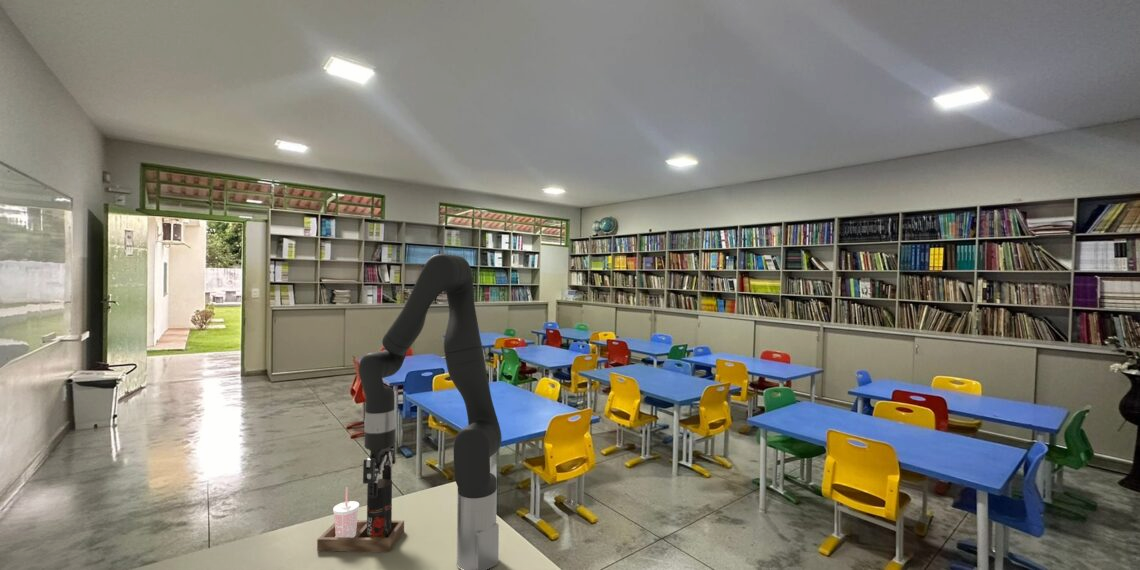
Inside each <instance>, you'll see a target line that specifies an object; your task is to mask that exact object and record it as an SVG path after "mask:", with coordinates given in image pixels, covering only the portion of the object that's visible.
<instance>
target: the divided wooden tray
mask: <svg viewBox="0 0 1140 570" xmlns="http://www.w3.org/2000/svg"><path fill="white" fill-rule="evenodd" d="M404 533H405V520H392V524H391V534H390V535H389V537H388V538H367V519H364V520H363V519H361V520H360V519H359V520H358V519H357V528H356V535H355V536H354V537H335V536H336V535H335V522H334V523H333V524H331V526H330V527H328V529H326V531H325V532H323V533H322V534H321V536H319V537H318V538H317V540H316V541H317V542H316V544H317V545H316V546H317V548H316V551H347V552H346V553H348V552H349V553H350V552H351V553H362V552H363V553H391V551H392V550H393V548H394V547H395V545H396V544H397V543H398V541H399V539H401V537H402V535H404Z"/></svg>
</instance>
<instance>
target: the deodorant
mask: <svg viewBox="0 0 1140 570" xmlns="http://www.w3.org/2000/svg"><path fill="white" fill-rule="evenodd" d="M366 488H367V489H366V490H367V491H366V492H367V493H366V508H367V509H366V520H367V538H388V537H389V535H390V534H391V524H392V521H393V519H392V518H393V517H392V516H393V510H392V509H393V507H392V506H393V505H392V504H393V503H392V502H393V501H392V500H393V482H392V481H391V480H389V479H382V478H380V479H378V496H377V497H376V498H369V497H368V484H367V487H366Z"/></svg>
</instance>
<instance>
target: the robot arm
mask: <svg viewBox="0 0 1140 570" xmlns="http://www.w3.org/2000/svg"><path fill="white" fill-rule="evenodd" d="M472 273H473V272H472V268H471V265H470V263H469V262H468V260H467V259H465V258H464V257H463V256H460V255H457V254H456V255H455V254H448V253H437V254H434V255H432V256H430V257H429V258H428V260H427V261H426V262H425V263H424V265H423V267H422V269H421V272H420V273H419V276H418V278H417V280H416V282H415V284H414V286H413V288H412V290H411V291H410V294H409V296H408V298H407V300H406V302H405V304H404V306H403V308H402V309H401V311H400V313H399V314H398V316H397V317H396V319H395V320H394V321H393V322H392V324H391V325H390V326H389V328H388V330H387V331H386V332H385V334H384V336H383V337H382V341H381V342H382V346H383V347H384V349H383V350H381V351H374V352H369V353H366V354H365V355H363V356H362V358H361V359H360V361H359V364H358V374H359V379H360V382H361V386H362V388H363V392H364V396H365V416H364V448H365V449H366V450H369V451H370V455H369V458H364V459H363V467H362V469H363V472H362V476H363V477H362V483H363V484H364V485H365V484H367V485H368V497H369V498H376V497H377V496H378V479H379V478H380V475H381V474H382V478H381V479H389V480H391V481H392V478H393V477H392V475H393V474H392V473H393V472H392V471H393V470H392V469H393V468H394V465H395V464H396V463H397V462H396V459H397V458H396V444H397V443H396V439H397V438H396V431H397V430H396V429H397V428H396V427H397V426H396V425H397V424H396V420H397V418H396V413H395V411H396V410H395V409H396V408H395V405H396V403H395V390H394V388H393V387H390V386H387V385H385V384H384V380H383V378H384V379H385V378H389V377H392V376H393V375H395V374H396V373H398V372H399V370H400V369H401V368H402V366H403V364H404V361H405V359H406V357H407V354H408V351H409V349H410V348H411V347H412V345H413V344H414V343H415V341H416V340H417V338H418V337H419V336H420V334H421V332H422V331H423V328H424V326H425V322H426V317H427V314H428V311H429V309H430V307H431V305H432V304H433V302H434V301H435V300H436V299H437V298H438V297H439V296H440V295H441V294H443V292H445V295H446V299H447V303H448V310H449V311H448V312H449V313H448V322H447V326H446V330H445V334H444V338H443V351H444V356H445V362H446V369H447V372H448V375H449V377H450V379H451V381H452V383H453V384H454V386H455V388H456V389H457V390H458V392H459V394H460V396H461V398H462V400H463V401H464V405H465V409H466V415H467V424H468V425H467V426H465V427H464V428H462V429H461V430H460V431H458V433H457V434H456V436H455V438H454V442H453V475H454V480H455V481H454V482H455V484H456V486H457V503H456V504H457V509H456V510H457V513H456V514H457V518H456V519H457V521H456V522H457V523H456V525H457V527H456V531H457V532H456V534H457V535H456V565H458V566H459V567H460V568H462V569H464V570H487V569H489V568H490V569H492V568H494V567H496V566H498V565H499V548H500V547H499V545H500V543H499V542H500V541H499V537H500V536H499V534H500V532H499V530H500V529H499V527H500V526H499V523H497V493H498V491H497V488H498V487H497V486H498V485H497V482H498V481H497V477H496V476H495V474H493V473H492V472H491V469H490V468H491V467H490V464H491V463H490V458H492V457H493V456H494V455H495V454H496V453H497V452H498V451H499V450H500V447H501V444H502V440H503V437H502V431H501V427H500V423H499V420H498V416H497V413H496V410H495V407H494V402H493V400H492V395H491V390H490V389H491V388H490V383H489V378H488V373H487V368H486V367H487V366H486V361H485V355H484V354H485V353H484V348H483V344H482V340H481V335H480V329H479V328H480V327H479V322H478V316H477V311H476V305H475V296H474V294H475V293H474V280H473V274H472ZM491 567H492V568H491ZM490 569H489V570H490Z"/></svg>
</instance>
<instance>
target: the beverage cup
mask: <svg viewBox="0 0 1140 570" xmlns="http://www.w3.org/2000/svg"><path fill="white" fill-rule="evenodd" d="M348 491H349V488H348V486H346V487H345V501H344V502H341V503H337V504H336V505H335V506H333V509H332V511H333V515H334V523H335V535H336V537H354V536H355V535H356V534H357V533H356V528H357V520H358V512H359V509H360V503H359V502H358V501H353V500H350V501H348V498H349V497H348V495H349V494H348Z"/></svg>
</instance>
